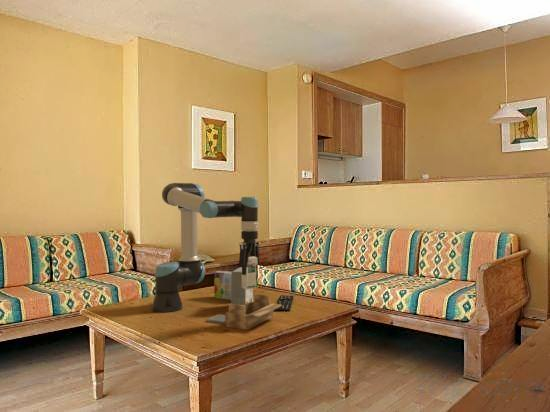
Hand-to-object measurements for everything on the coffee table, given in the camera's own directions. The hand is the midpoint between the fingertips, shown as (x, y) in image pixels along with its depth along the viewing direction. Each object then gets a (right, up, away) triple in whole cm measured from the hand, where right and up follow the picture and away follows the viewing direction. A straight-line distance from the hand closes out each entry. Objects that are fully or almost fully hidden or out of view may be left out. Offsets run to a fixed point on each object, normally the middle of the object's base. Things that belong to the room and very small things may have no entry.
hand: (249, 280), depth 201 cm
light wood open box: (+3, -19, -1) cm, 19 cm away
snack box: (-13, -19, +46) cm, 51 cm away
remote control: (+17, -19, +33) cm, 42 cm away
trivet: (-13, -19, +2) cm, 23 cm away
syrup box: (0, -4, 0) cm, 4 cm away
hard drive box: (-5, -19, +25) cm, 32 cm away
